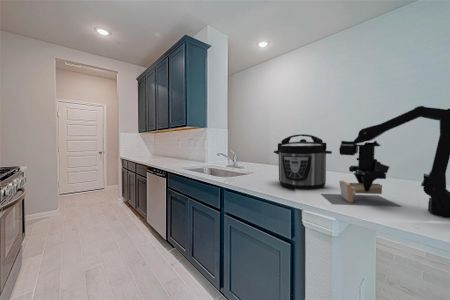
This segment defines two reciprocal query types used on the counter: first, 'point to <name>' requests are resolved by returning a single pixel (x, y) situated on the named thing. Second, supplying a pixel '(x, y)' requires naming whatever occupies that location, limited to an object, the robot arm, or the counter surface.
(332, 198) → the charcoal mat
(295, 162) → the pressure cooker
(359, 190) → the beech scraper
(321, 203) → the counter surface
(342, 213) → the counter surface
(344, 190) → the terracotta tile
